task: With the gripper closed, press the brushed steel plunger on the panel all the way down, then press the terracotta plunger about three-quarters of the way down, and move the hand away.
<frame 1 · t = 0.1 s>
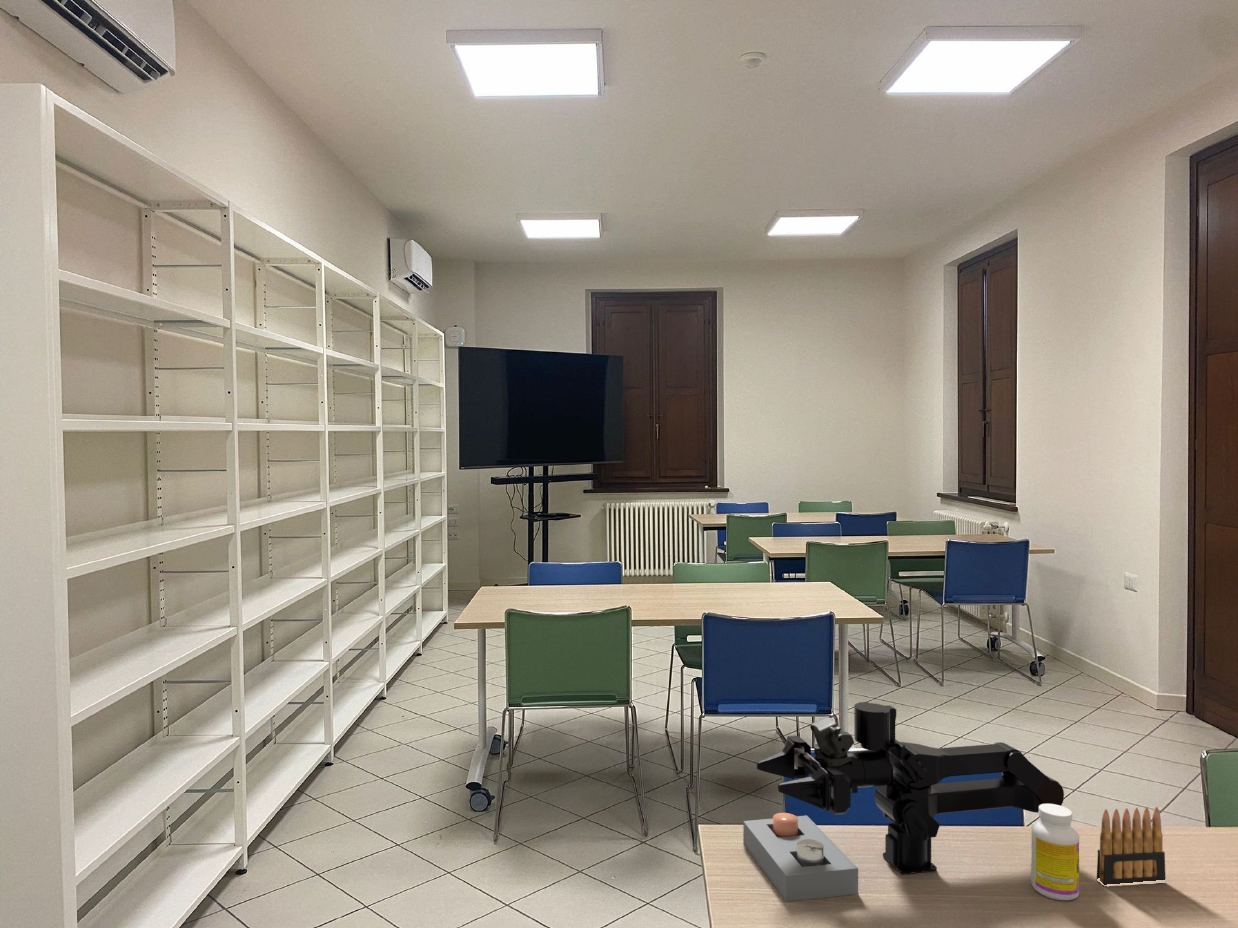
hand: (767, 776, 130), 17 cm above the table, tool horizontal, fingers open, 9 cm apart
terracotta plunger: (785, 826, 138), point 5 cm above the table, slide at 0.0 cm
ammunition clip: (1131, 883, 129), on the table
panel: (797, 866, 134), on the table
supplement bottle: (1054, 891, 126), on the table
steel plunger: (810, 854, 129), point 5 cm above the table, slide at 0.0 cm
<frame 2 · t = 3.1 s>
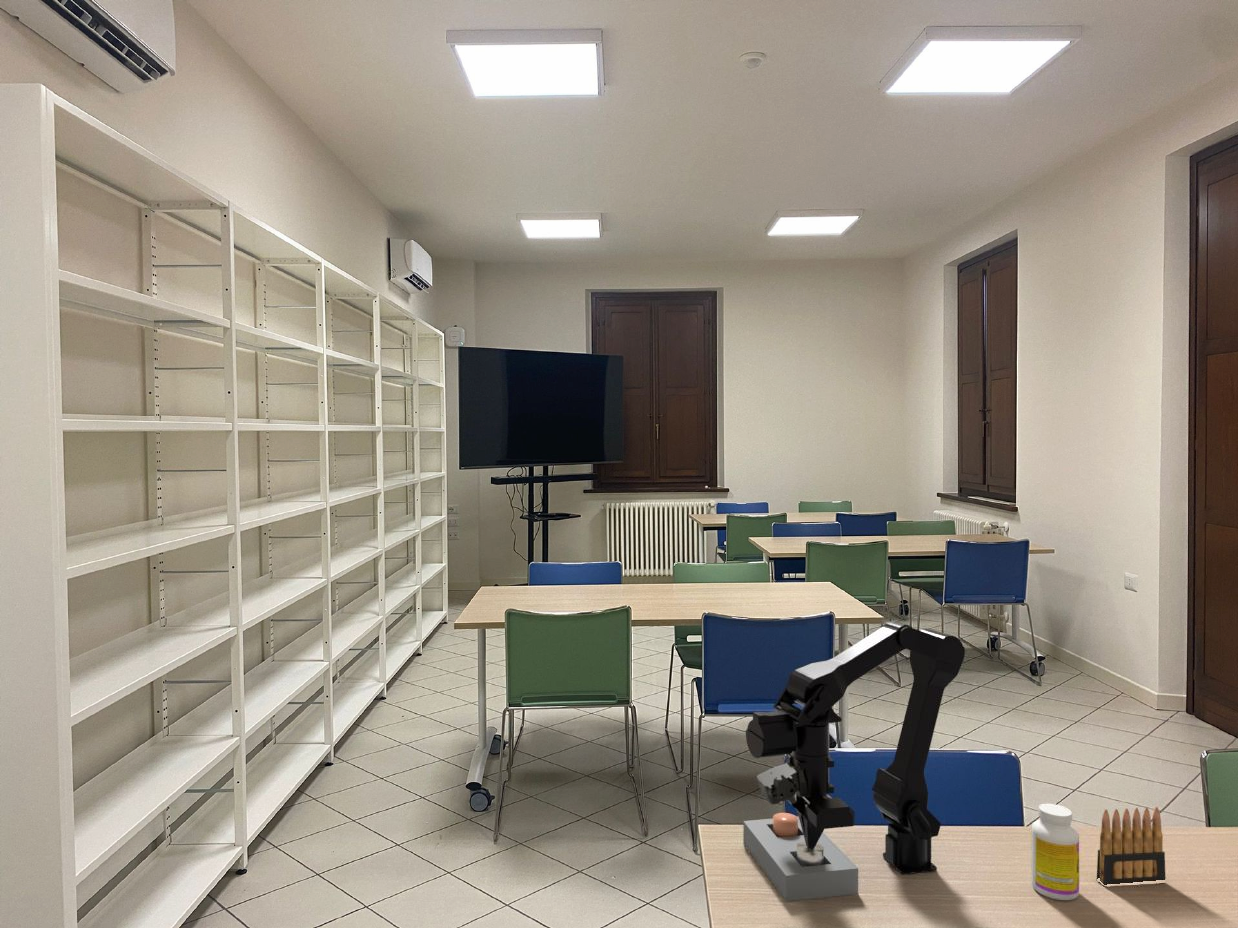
hand: (810, 847, 129), 6 cm above the table, tool pointing down, fingers closed, pressing on steel plunger
steel plunger: (810, 856, 129), point 4 cm above the table, slide at 0.3 cm, touching gripper
everything else where it was.
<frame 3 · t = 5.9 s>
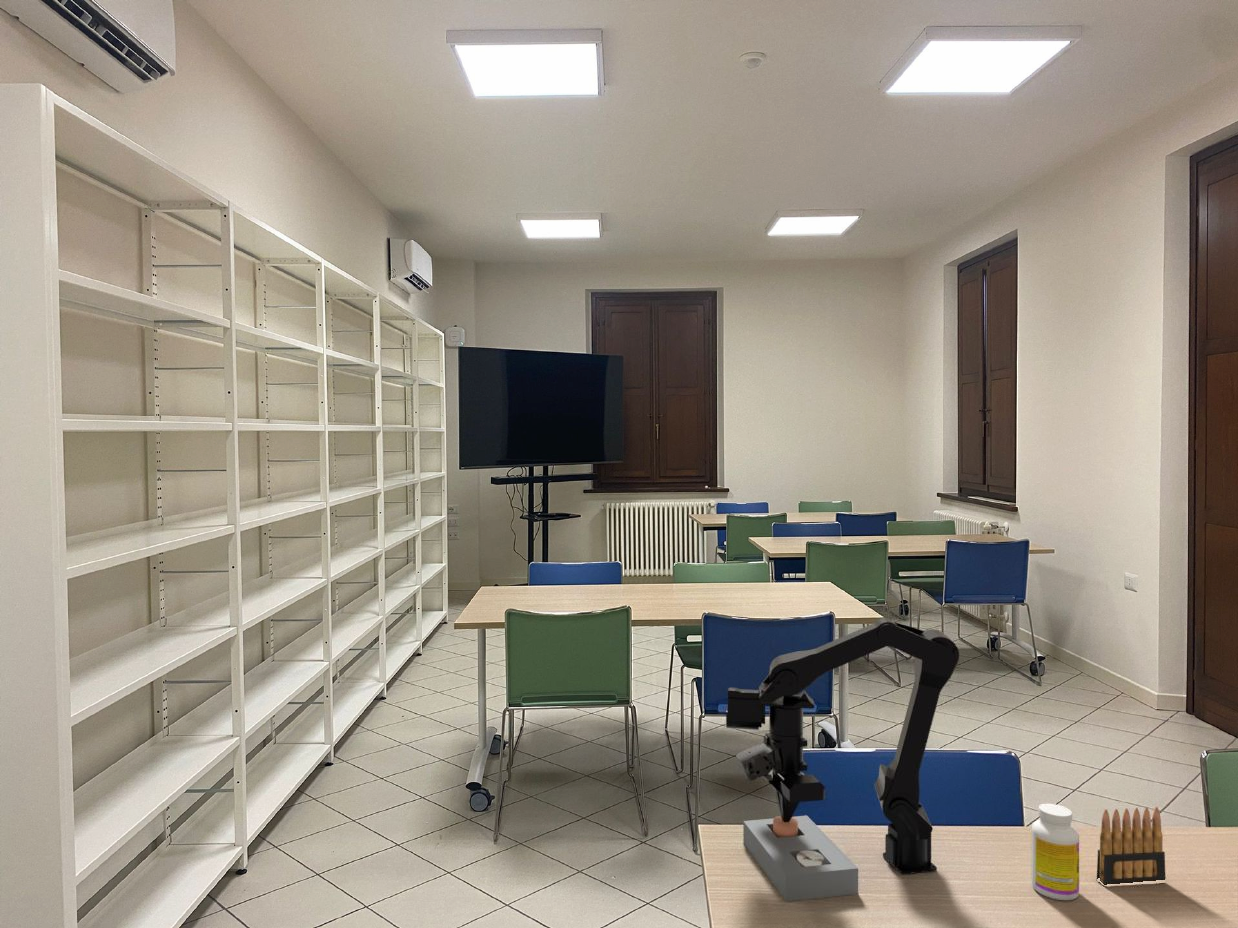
hand: (785, 821, 138), 5 cm above the table, tool pointing down, fingers closed, pressing on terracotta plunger
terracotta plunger: (785, 829, 138), point 4 cm above the table, slide at 0.5 cm, touching gripper
steel plunger: (810, 865, 129), point 3 cm above the table, slide at 1.8 cm
everything else where it was.
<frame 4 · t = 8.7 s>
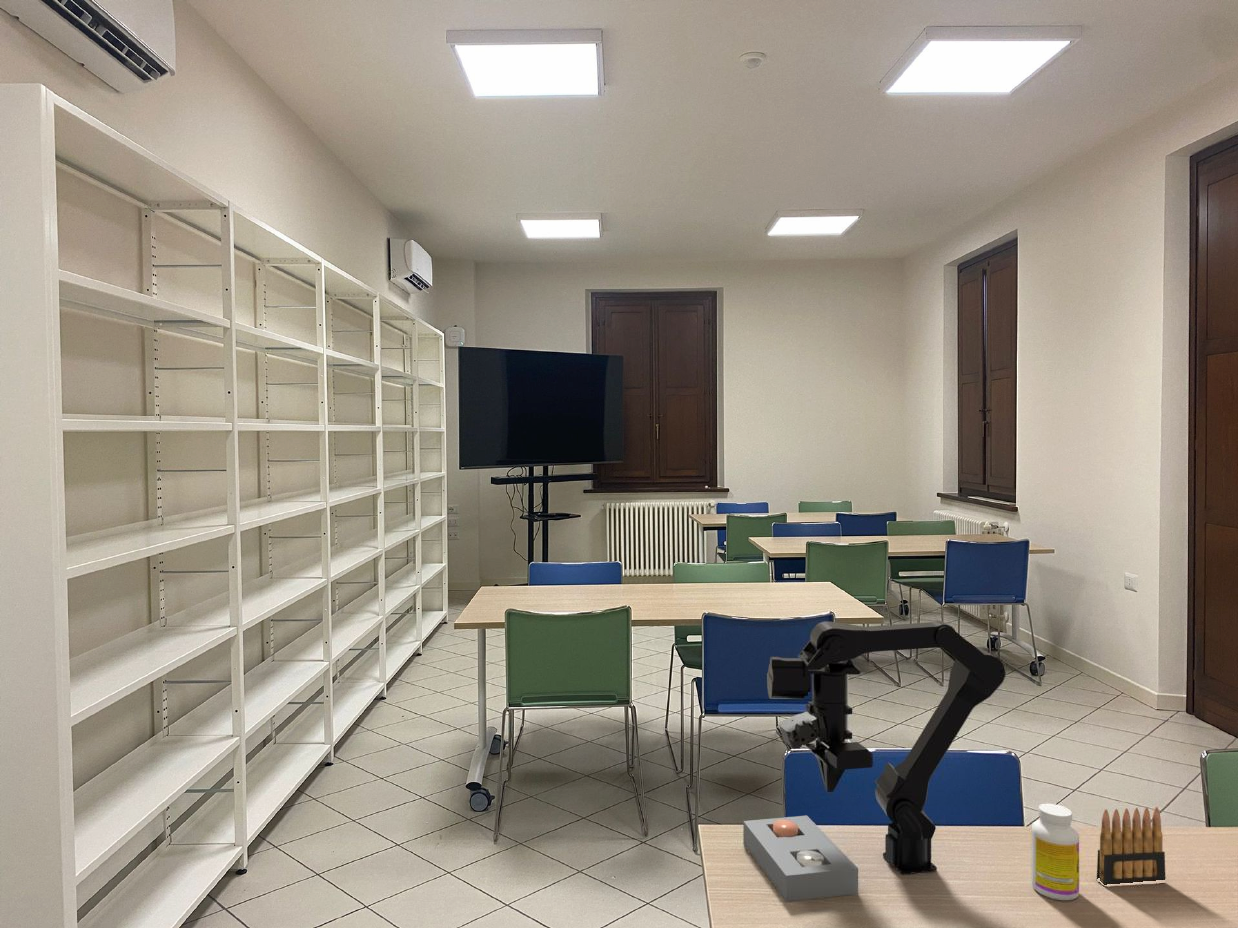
hand: (829, 791, 135), 12 cm above the table, tool pointing down, fingers closed
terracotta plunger: (785, 833, 138), point 3 cm above the table, slide at 1.3 cm
everything else where it was.
at the end: steel plunger slide at 1.8 cm; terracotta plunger slide at 1.3 cm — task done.
